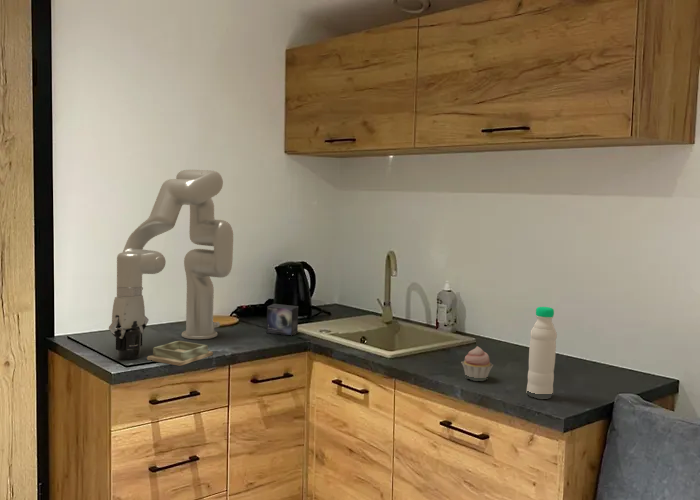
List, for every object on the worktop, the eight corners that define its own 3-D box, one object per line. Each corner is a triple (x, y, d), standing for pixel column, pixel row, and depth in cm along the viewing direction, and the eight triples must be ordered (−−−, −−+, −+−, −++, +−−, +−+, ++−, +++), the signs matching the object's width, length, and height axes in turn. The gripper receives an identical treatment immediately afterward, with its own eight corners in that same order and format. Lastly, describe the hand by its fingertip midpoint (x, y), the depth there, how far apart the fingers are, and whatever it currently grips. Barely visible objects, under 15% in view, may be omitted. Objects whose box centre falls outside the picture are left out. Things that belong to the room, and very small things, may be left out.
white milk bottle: (527, 399, 186) (533, 309, 184) (525, 391, 193) (530, 304, 191) (554, 401, 185) (560, 310, 183) (550, 393, 192) (556, 306, 190)
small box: (265, 333, 255) (266, 306, 254) (272, 330, 261) (273, 303, 260) (291, 336, 251) (292, 308, 250) (298, 333, 257) (299, 305, 256)
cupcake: (482, 374, 210) (484, 342, 209) (497, 382, 201) (499, 349, 200) (455, 375, 207) (456, 343, 206) (468, 384, 198) (470, 350, 197)
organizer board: (181, 349, 226) (181, 339, 226) (212, 354, 221) (213, 344, 220) (147, 359, 212) (147, 348, 212) (180, 365, 206) (180, 354, 206)
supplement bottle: (133, 361, 210) (133, 322, 209) (113, 359, 211) (113, 321, 210) (144, 355, 217) (144, 318, 215) (124, 353, 218) (125, 317, 217)
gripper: (140, 287, 221) (139, 341, 223) (99, 294, 206) (99, 352, 208) (158, 289, 218) (157, 344, 220) (117, 296, 203) (117, 355, 204)
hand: (129, 347), depth 214 cm, fingers closed on supplement bottle, 6 cm apart
